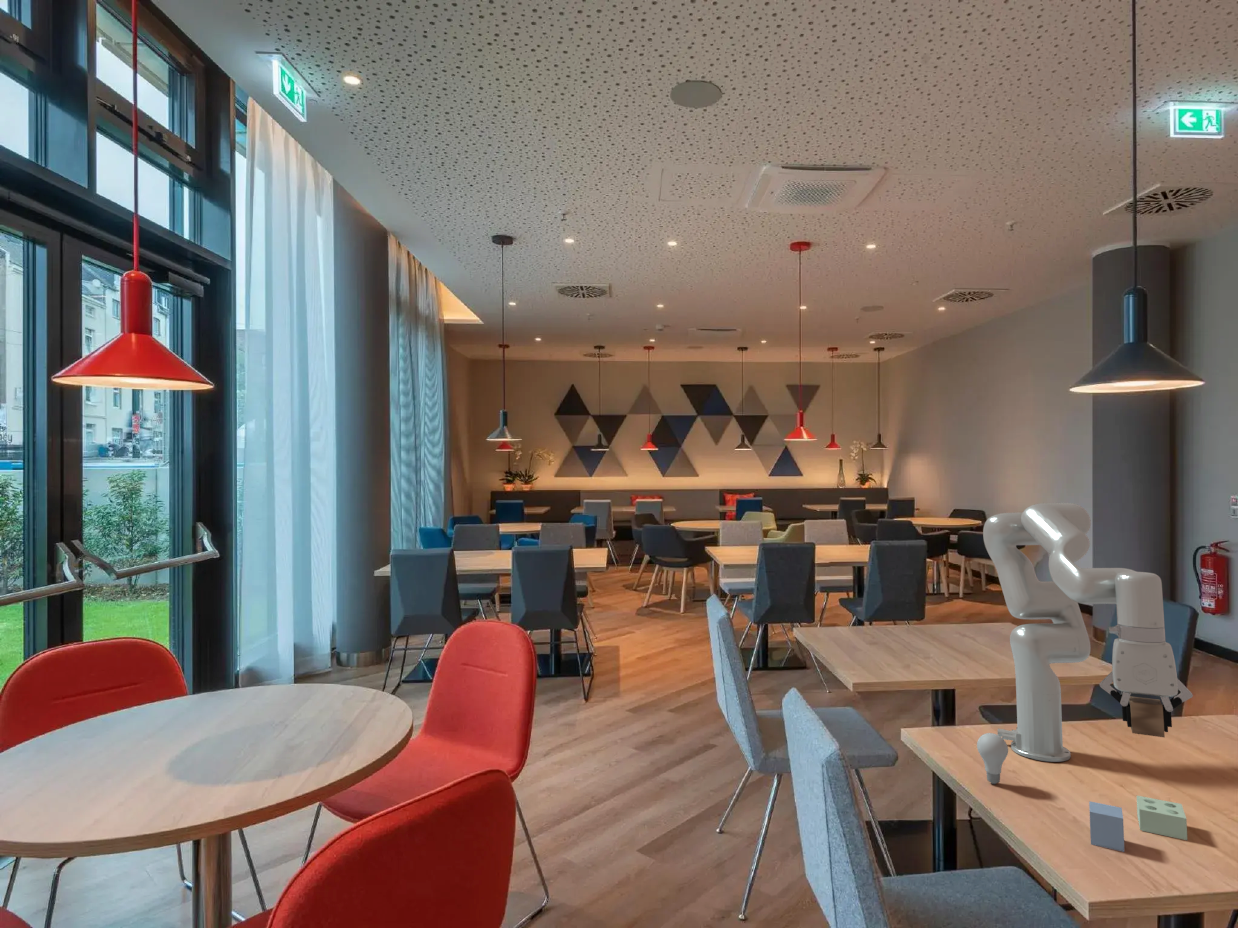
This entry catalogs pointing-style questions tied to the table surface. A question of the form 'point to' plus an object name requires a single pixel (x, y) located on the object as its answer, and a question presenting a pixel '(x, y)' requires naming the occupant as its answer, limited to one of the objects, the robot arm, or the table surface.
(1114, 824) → the slate block
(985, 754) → the lightbulb
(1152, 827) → the base brick
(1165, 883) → the table surface
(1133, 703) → the walnut block
